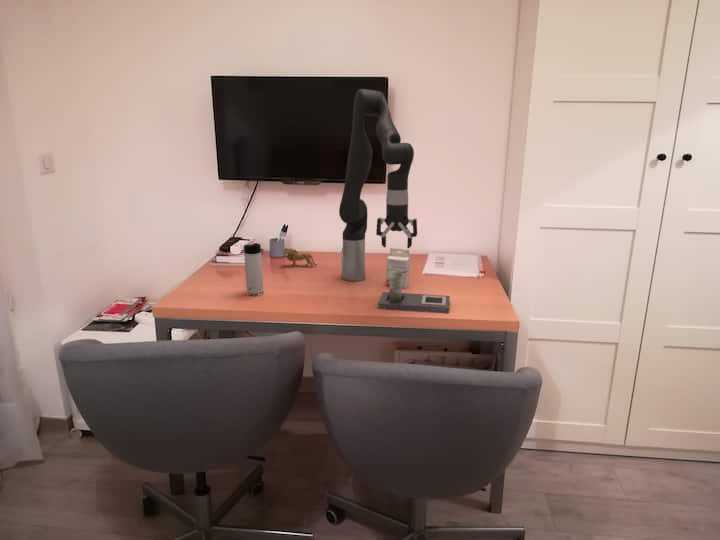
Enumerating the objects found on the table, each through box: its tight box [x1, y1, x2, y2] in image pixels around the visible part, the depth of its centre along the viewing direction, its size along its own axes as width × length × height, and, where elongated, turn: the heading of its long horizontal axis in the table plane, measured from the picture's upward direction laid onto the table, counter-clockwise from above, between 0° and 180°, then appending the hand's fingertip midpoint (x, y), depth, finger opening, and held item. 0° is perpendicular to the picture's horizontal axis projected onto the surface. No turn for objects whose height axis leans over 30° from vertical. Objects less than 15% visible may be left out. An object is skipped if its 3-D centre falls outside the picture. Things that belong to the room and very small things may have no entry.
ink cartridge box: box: [385, 247, 411, 289], centre depth 212 cm, size 9×5×15 cm, turn 71°
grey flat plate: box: [377, 291, 451, 314], centre depth 194 cm, size 25×12×2 cm, turn 80°
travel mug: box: [243, 243, 264, 296], centre depth 202 cm, size 6×7×20 cm
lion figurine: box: [283, 247, 318, 269], centre depth 237 cm, size 15×5×9 cm, turn 95°
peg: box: [388, 271, 403, 302], centre depth 193 cm, size 4×4×12 cm
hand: (396, 247), depth 189 cm, fingers open, 8 cm apart
